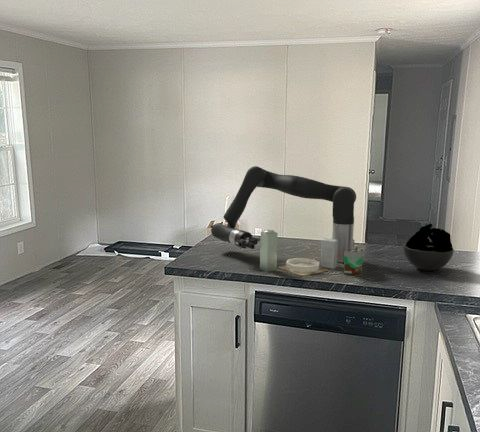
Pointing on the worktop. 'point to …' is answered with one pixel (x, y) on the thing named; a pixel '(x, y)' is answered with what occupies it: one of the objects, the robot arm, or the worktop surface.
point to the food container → (353, 261)
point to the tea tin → (268, 250)
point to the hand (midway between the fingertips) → (262, 245)
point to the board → (302, 273)
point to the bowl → (302, 265)
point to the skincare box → (329, 253)
